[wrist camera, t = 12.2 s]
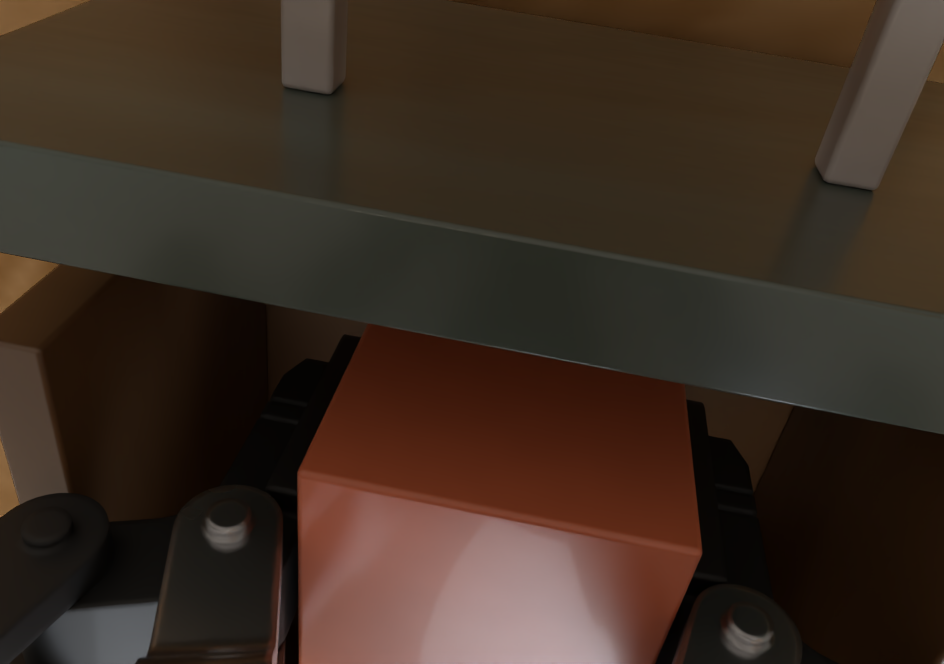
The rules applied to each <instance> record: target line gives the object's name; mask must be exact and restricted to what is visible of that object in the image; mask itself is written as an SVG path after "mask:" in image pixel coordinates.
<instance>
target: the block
mask: <svg viewBox="0 0 944 664" xmlns="http://www.w3.org/2000/svg"><path fill="white" fill-rule="evenodd" d="M297 507H298V632H299V664H655V663H656V661H657V658H658V656H659V654H660V651H661V649H662V647H663V644H664V642H665V640H666V637H667V635H668V633H669V630H670V628H671V626H672V623H673V621H674V619H675V616H676V614H677V612H678V609H679V607H680V605H681V602H682V600H683V598H684V595H685V593H686V591H687V588H688V586H689V584H690V581H691V579H692V577H693V574H694V572H695V570H696V567H697V565H698V563H699V560H700V558H701V556H702V543H701V534H700V525H699V515H698V506H697V496H696V487H695V477H694V468H693V458H692V449H691V440H690V430H689V421H688V411H687V402H686V392H685V384H679V383H674V382H669V381H664V380H659V379H653V378H648V377H643V376H638V375H633V374H628V373H622V372H617V371H612V370H607V369H602V368H596V367H591V366H586V365H581V364H576V363H571V362H565V361H560V360H555V359H550V358H545V357H539V356H534V355H529V354H524V353H519V352H514V351H508V350H503V349H498V348H493V347H488V346H482V345H477V344H472V343H467V342H462V341H457V340H451V339H446V338H441V337H436V336H431V335H425V334H420V333H415V332H410V331H405V330H400V329H394V328H389V327H384V326H379V325H374V324H367V326H366V328H365V330H364V332H363V335H362V337H361V339H360V341H359V343H358V345H357V347H356V349H355V351H354V354H353V356H352V358H351V360H350V362H349V364H348V366H347V368H346V370H345V373H344V375H343V377H342V379H341V381H340V383H339V385H338V387H337V389H336V392H335V394H334V396H333V398H332V400H331V402H330V404H329V406H328V408H327V410H326V413H325V415H324V417H323V419H322V421H321V423H320V425H319V427H318V429H317V432H316V434H315V436H314V438H313V440H312V442H311V444H310V446H309V448H308V451H307V453H306V455H305V457H304V459H303V461H302V463H301V465H300V467H299V470H298V472H297Z"/></svg>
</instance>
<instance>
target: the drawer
mask: <svg viewBox="0 0 944 664" xmlns="http://www.w3.org/2000/svg"><path fill="white" fill-rule="evenodd" d="M943 42H944V0H877V1H876V3H875V6H874V9H873V11H872V14H871V16H870V19H869V21H868V24H867V26H866V29H865V32H864V34H863V37H862V39H861V42H860V44H859V47H858V50H857V52H856V55H855V57H854V60H853V62H852V65H851V68H848V67H842V66H836V65H830V64H824V63H818V62H812V61H806V60H800V59H794V58H788V57H782V56H776V55H770V54H764V53H758V52H752V51H746V50H741V49H735V48H729V47H723V46H717V45H711V44H705V43H699V42H693V41H687V40H681V39H675V38H669V37H663V36H657V35H651V34H645V33H639V32H633V31H627V30H621V29H615V28H609V27H603V26H597V25H591V24H585V23H579V22H573V21H567V20H562V19H556V18H550V17H544V16H538V15H532V14H526V13H520V12H514V11H508V10H502V9H496V8H490V7H484V6H478V5H472V4H466V3H460V2H454V1H448V0H91V1H88V2H86V3H83V4H80V5H78V6H75V7H73V8H70V9H68V10H65V11H63V12H60V13H58V14H55V15H53V16H50V17H48V18H45V19H42V20H40V21H37V22H35V23H32V24H30V25H27V26H25V27H22V28H20V29H17V30H15V31H12V32H9V33H7V34H4V35H2V36H0V252H1V253H6V254H11V255H16V256H21V257H26V258H32V259H37V260H42V261H47V262H52V263H58V264H59V265H58V266H57V267H55V268H54V269H53V270H52V271H51V272H50V273H48V274H47V275H46V276H45V277H44V278H42V279H41V280H40V281H39V282H38V283H36V284H35V285H34V286H33V287H32V288H30V289H29V290H28V291H27V292H26V293H24V294H23V295H22V296H21V297H20V298H19V299H17V300H16V301H15V302H14V303H13V304H11V305H10V306H9V307H8V308H7V309H5V310H4V311H3V312H2V313H1V314H0V437H1V441H2V444H3V448H4V451H5V455H6V458H7V462H8V465H9V469H10V472H11V476H12V479H13V483H14V486H15V490H16V493H17V497H18V500H19V504H22V503H24V502H26V501H28V500H31V499H34V498H36V497H40V496H44V495H48V494H55V493H76V494H80V495H85V496H87V497H90V498H92V499H94V500H95V501H97V502H98V503H99V504H100V505H101V506H102V507H103V508H104V509H105V511H106V513H107V516H108V519H109V522H112V521H127V520H143V519H156V518H164V517H169V516H173V515H177V514H178V513H179V511H180V510H181V509H182V507H183V506H184V505H185V504H186V503H187V502H188V501H190V500H191V499H192V498H194V497H195V496H197V495H198V494H200V493H202V492H204V491H206V490H209V489H212V488H215V487H219V485H220V484H221V482H222V481H223V479H224V477H225V476H226V474H227V472H228V470H229V469H230V467H231V465H232V463H233V462H234V460H235V458H236V456H237V455H238V453H239V451H240V449H241V448H242V446H243V444H244V442H245V441H246V439H247V437H248V435H249V434H250V432H251V430H252V428H253V427H254V425H255V423H256V421H257V420H258V419H260V416H261V413H262V411H263V409H264V408H265V406H266V404H267V402H268V401H270V399H271V395H272V394H273V392H274V390H275V388H276V387H277V385H278V383H279V381H280V380H281V378H282V376H283V375H284V374H285V373H286V372H288V371H289V370H291V369H292V368H293V367H295V366H296V365H298V364H299V363H300V362H302V361H303V360H305V359H306V358H309V359H314V360H319V361H324V362H329V361H330V359H331V357H332V355H333V353H334V351H335V349H336V347H337V345H338V343H339V341H340V339H341V337H342V336H343V335H344V334H347V335H352V336H357V337H362V335H363V332H364V330H365V328H366V326H367V324H374V325H379V326H384V327H389V328H394V329H400V330H405V331H410V332H415V333H420V334H425V335H431V336H436V337H441V338H446V339H451V340H457V341H462V342H467V343H472V344H477V345H482V346H488V347H493V348H498V349H503V350H508V351H514V352H519V353H524V354H529V355H534V356H539V357H545V358H550V359H555V360H560V361H565V362H571V363H576V364H581V365H586V366H591V367H596V368H602V369H607V370H612V371H617V372H622V373H628V374H633V375H638V376H643V377H648V378H653V379H659V380H664V381H669V382H674V383H679V384H685V392H686V399H687V400H693V401H698V402H702V403H703V404H704V407H705V413H706V421H707V428H708V436H713V437H718V438H723V439H729V440H731V441H732V442H733V444H734V445H735V446H736V448H737V449H738V451H739V452H740V454H741V455H742V457H743V458H744V459H745V461H746V462H747V464H748V465H749V471H750V476H751V481H752V487H753V496H754V497H755V503H756V508H757V518H758V519H759V524H760V530H761V535H762V540H763V546H764V551H765V556H766V562H767V567H768V573H769V578H770V583H771V589H772V594H773V598H774V601H775V602H776V603H777V604H779V605H780V606H781V607H782V608H783V609H784V610H785V611H786V612H787V613H788V615H789V616H790V617H791V619H792V620H793V621H794V623H795V625H796V627H797V629H798V631H799V634H800V636H801V640H802V641H803V642H804V643H805V644H807V645H808V646H809V647H811V648H812V649H813V650H815V651H816V652H818V653H820V654H821V655H823V656H825V657H827V658H829V659H831V660H833V661H835V662H837V663H839V664H944V84H943V83H937V82H931V81H926V80H927V78H928V75H929V73H930V71H931V69H932V66H933V64H934V62H935V60H936V57H937V55H938V53H939V51H940V48H941V46H942V44H943ZM285 664H299V632H298V608H297V611H296V613H295V616H294V618H293V621H292V623H291V626H290V629H289V631H288V634H287V636H286V652H285Z"/></svg>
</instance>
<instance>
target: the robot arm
mask: <svg viewBox="0 0 944 664" xmlns="http://www.w3.org/2000/svg"><path fill="white" fill-rule="evenodd" d="M360 339H361V337H357V336H352V335H347V334H344V335H343V336H342V337H341V339H340V341H339V343H338V345H337V347H336V349H335V351H334V353H333V355H332V357H331V359H330V361H329V362H324V361H319V360H314V359H309V358H306V359H305V360H303V361H302V362H300V363H299V364H298V365H296V366H295V367H293V368H292V369H291V370H289V371H288V372H286V373H285V374H284V375H283V376H282V378H281V380H280V381H279V383H278V385H277V387H276V388H275V390H274V392H273V394H272V395H271V399H270V401H268V402H267V404H266V406H265V408H264V409H263V411H262V413H261V416H260V419H258V420H257V421H256V423H255V425H254V427H253V428H252V430H251V432H250V434H249V435H248V437H247V439H246V441H245V442H244V444H243V446H242V448H241V449H240V451H239V453H238V455H237V456H236V458H235V460H234V462H233V463H232V465H231V467H230V469H229V470H228V472H227V474H226V476H225V477H224V479H223V481H222V482H221V484H220V485H219V487H215V488H212V489H209V490H206V491H204V492H202V493H200V494H198V495H197V496H195V497H194V498H192V499H191V500H190V501H188V502H187V503H186V504H185V505H184V506H183V507H182V509H181V510H180V511H179V513H178V514H177V515H173V516H169V517H164V518H156V519H143V520H127V521H112V522H109V519H108V516H107V513H106V511H105V509H104V508H103V507H102V506H101V505H100V504H99V503H98V502H97V501H95V500H94V499H92V498H90V497H87V496H85V495H80V494H76V493H55V494H48V495H44V496H40V497H36V498H34V499H31V500H28V501H26V502H24V503H22V504H20V505H18V506H17V507H15V508H13V509H12V510H10V511H9V512H8V513H6V514H5V515H4V516H2V517H1V518H0V664H285V652H286V636H287V634H288V631H289V629H290V626H291V623H292V621H293V618H294V616H295V613H296V611H297V608H298V507H297V472H298V470H299V467H300V465H301V463H302V461H303V459H304V457H305V455H306V453H307V451H308V448H309V446H310V444H311V442H312V440H313V438H314V436H315V434H316V432H317V429H318V427H319V425H320V423H321V421H322V419H323V417H324V415H325V413H326V410H327V408H328V406H329V404H330V402H331V400H332V398H333V396H334V394H335V392H336V389H337V387H338V385H339V383H340V381H341V379H342V377H343V375H344V373H345V370H346V368H347V366H348V364H349V362H350V360H351V358H352V356H353V354H354V351H355V349H356V347H357V345H358V343H359V341H360ZM686 402H687V411H688V421H689V430H690V440H691V449H692V458H693V468H694V477H695V487H696V496H697V506H698V515H699V525H700V534H701V543H702V556H701V558H700V560H699V563H698V565H697V567H696V570H695V572H694V574H693V577H692V579H691V581H690V584H689V586H688V588H687V591H686V593H685V595H684V598H683V600H682V602H681V605H680V607H679V609H678V612H677V614H676V616H675V619H674V621H673V623H672V626H671V628H670V630H669V633H668V635H667V637H666V640H665V642H664V644H663V647H662V649H661V651H660V654H659V656H658V658H657V661H656V663H655V664H839V663H837V662H835V661H833V660H831V659H829V658H827V657H825V656H823V655H821V654H820V653H818V652H816V651H815V650H813V649H812V648H811V647H809V646H808V645H807V644H805V643H804V642H803V641H802V640H801V636H800V634H799V631H798V629H797V627H796V625H795V623H794V621H793V620H792V619H791V617H790V616H789V615H788V613H787V612H786V611H785V610H784V609H783V608H782V607H781V606H780V605H779V604H777V603H776V602H775V601H774V598H773V594H772V589H771V583H770V578H769V573H768V567H767V562H766V556H765V551H764V546H763V540H762V535H761V530H760V524H759V519H758V518H757V508H756V503H755V497H754V496H753V487H752V481H751V476H750V471H749V465H748V464H747V462H746V461H745V459H744V458H743V457H742V455H741V454H740V452H739V451H738V449H737V448H736V446H735V445H734V444H733V442H732V441H731V440H729V439H723V438H718V437H713V436H708V428H707V421H706V413H705V407H704V404H703V403H702V402H698V401H693V400H687V399H686Z"/></svg>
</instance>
